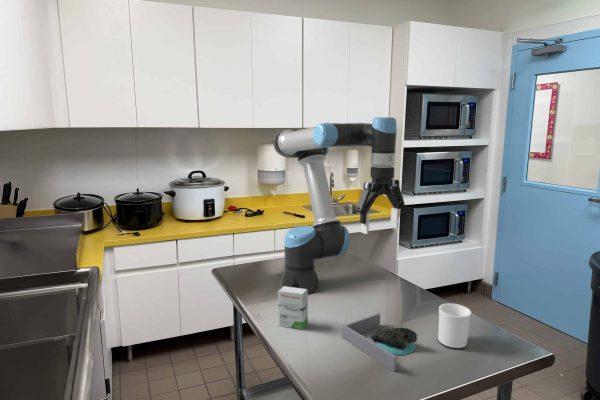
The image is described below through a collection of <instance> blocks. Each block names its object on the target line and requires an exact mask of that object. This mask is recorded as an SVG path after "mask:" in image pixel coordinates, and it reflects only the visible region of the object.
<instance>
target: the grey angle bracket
mask: <svg viewBox="0 0 600 400" xmlns="http://www.w3.org/2000/svg"><path fill="white" fill-rule="evenodd" d="M380 325H381V313H379V312H377V313H375V314H371V315H368V316H366V317H363V318H361V319H357V320H355V321H352V322H349V323H346V324H343V325H342V334H341V339H343V340H345V341H346V342H348V343H350V345H352V346H353V347H355V348H357V349H358V350H360V351H361V352H363V353H365V354H366V355H367V356H369V357H370V358H371V359H374V360H375V361H377V362H378V363H380V364H381V365H382V366H384V367H386V368H387V369H388V370H389V369H390V371H392V372H396V371H397V362H398V360H397V358H398V357H397V355H393V354H391V353H390V352H388V351H387V350H385V349H383V348H382V347H380V346H378V345H377V343H376V342H373V341H372V340H370V339H369V338H367V337H366V336H364V335H362V334H361V333H363V332H366V331H369V330H372V329H374V328H376V327H379V326H380Z"/></svg>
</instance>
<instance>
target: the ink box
mask: <svg viewBox="0 0 600 400" xmlns="http://www.w3.org/2000/svg"><path fill="white" fill-rule="evenodd" d="M308 295H309V294H308V290H307V289H301V288H294V287H286V286H284V287H282V288H280V289H278V290H277V301H278V302H277V310H278V312H277V313H278V314H277V316H278V317H277V318H278V320H277V321H278V326H279V327H284V328H292V329H297V330H305V328H306V327H307V325H308V323H309V322H308V319H309V318H308V317H309V316H308V315H309V313H308V312H309V311H308V310H309V308H308V307H309V302H308V300H309V298H308V297H309V296H308Z"/></svg>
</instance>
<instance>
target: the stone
mask: <svg viewBox="0 0 600 400" xmlns="http://www.w3.org/2000/svg"><path fill="white" fill-rule="evenodd" d="M370 339H371V340H373V341H377V340H381V341H383V342H387V343H390V344H391V345H393V346H395V347H396V348H402V349H404V348H405V347H406V346H407V345H408V344H409V343H412V342H413V343H416V342H417V341H418V334H417V332H415V331H414V330H412V329H410V328H408V327H397V328H396V327H392V328H384V329H378V330H376V331H374V332H372V333H371V334H370Z"/></svg>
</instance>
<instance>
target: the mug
mask: <svg viewBox="0 0 600 400" xmlns="http://www.w3.org/2000/svg"><path fill="white" fill-rule="evenodd" d="M438 317H439V318H438V333H437V334H438V335H437V341H438V343H439V344H440V345H441V346H443V347H445V348H447V349H451V350H463V349H465V348H466V347H467V346H468V338H469V331H470V322H471V317H472V310H471V309H470V308H468V307H466V306H465V305H462V304H458V303H452V302H451V303H450V302H449V303H442V304H441V305H439V306H438Z"/></svg>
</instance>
